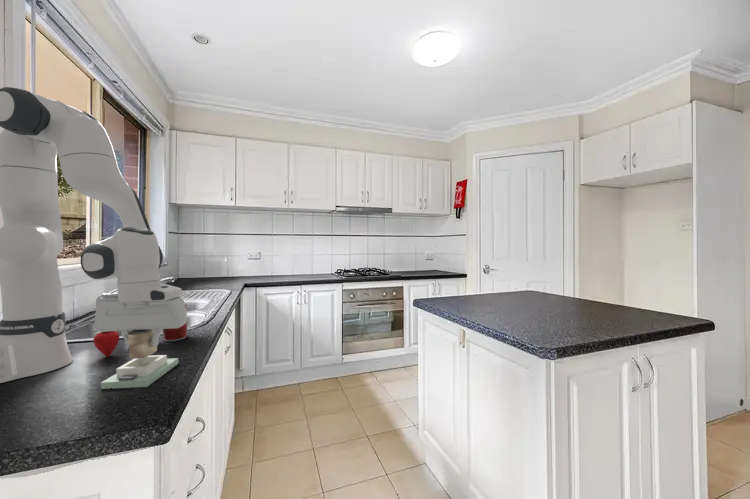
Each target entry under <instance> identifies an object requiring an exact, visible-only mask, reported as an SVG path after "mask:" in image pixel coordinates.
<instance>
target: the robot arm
mask: <svg viewBox="0 0 750 499" xmlns="http://www.w3.org/2000/svg"><path fill="white" fill-rule="evenodd" d="M0 127H1V128H2V129H3V130H2V131H1V132H0V212H1V215H2V219H3V224H4V225H3V226H1V227H0V291H1V292H0V294H1V312H2V319H1V320H0V384H2V383H6V382H10V381H14V380H18V379H22V378H26V377H32V376H36V375H40V374H44V373H48V372H52V371H55V370H57V369H61V368H63V367H65V366H68V365H69V364H71V363H72V362H73V361H74V359H73V357H72V355H71V351H70V350H69V349H70V348H69V344H68V342H67V337H66V332H65V329H66V313H65V312H64V310H63V308H64V307H63V287H62V281H61V277H60V272H59V264H58V256H59V255H60V254H61V252H62V251H63V249H64V234H63V226H62V219H61V218H62V216H61V211H60V205H59V187H58V186H59V184H58V182H59V181H58V165H57V155H58V160H59V165H60V166H59V167H60V169H61V173H62V176H63V178H64V180H65V181H66V183H67V184H68V186H69V187H71V188H72V189H73V190H75V191H76V192H77V193H79V194H81V195H83V196H86V197H89V198H91V199H92V200H93V199H94V200H96V201H98V202H100V203H102V204H104V205H106V206H108V207H109V208H111V209H112V210H114V211H115V212H116V213H117V215H118V217H119V219H120V221H121V224H122V226H123V227H121V228H118V229H117V230H116V231H115V233H114V234H113V235H111V236H110V237H108V238H105V239H104V240H100V241H97V242H92V243H90V244H88V245H87V246H86V247H84V249H83V251H82V253H81V255H80V265H81V266H80V267H81V269H82V271H83V272H84V274H86V275H87V276H88V277H89V278H91V279H93V280H101V281H103V280H112V279H114V280H115V279H116V280H117V282H116V284H117V285H116V286H117V287H116V288H117V292H112V293H102V294H101V295H98V297H97V298H96V299H95V314H94V329H95V331H98V333H100V332H106V331H116V332H121V334H120V335H121V336H122V338H123V339H124V340H125V341H126V346H127V349H128V348H129V338H128V333H129V332H131V331H133V330H150V329H152V333H155V334H154V336H153V338H152V339H150V340H148V343H149V347H156V346H157V347H158V346H159V344H160V343H159V340H158V338H159V337H160V338H161V335H162V334H163V329H172V328H179V327H181V326H183V325H184V324H185V323H186V321H187V322H188V313H187V314H186V307H185V304H186V303H185V300H184V299H183V298H182V297H181V296H182V295H183V289H182V288H181V287H178V286H174V285H171V284H167V283H163V282H162V279H161V278H162V277H161V274H160V272H159V269H160V268H161V266H162V264H163V262H164V253H163V251H162V249H161V247H160V246H159V241H158V238H157V235H156V233H155V232H154V231H152V230H151V226H150V225H149V222H148V218H147V217H146V214H145V211H144V208H143V206H142V203H141V202H140V199H139V196H138V194H137V192H136V191H135V190H134V188H133V187H132V186H131V185H129V184H128V183H127V180H126V179H125V178H124V176H123V174H122V173H121V171H120V169H119V166H118V162H117V158H116V154H115V151H114V147H113V145H112V142H111V140H110V137H109V135H108V133H107V130H106V129H105V127H104V126H103V125H102V123H101V122H100V120H98V119H97V118H96V117H95V116H93V115H92V114H89V113H88V112H86V111H84V110H80V109H78V108H76V107H74V106H71V105H69V104H67V103H65V102H62V101H60V100H56V99H52V98H49V97H47V96H43V95H40V94H39V95H38V94H36V93H32V92H31V91H30V90H29V91H28V90H26V89H22V88H18V87H17V88H16V87H10V86H5V87H1V88H0Z"/></svg>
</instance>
